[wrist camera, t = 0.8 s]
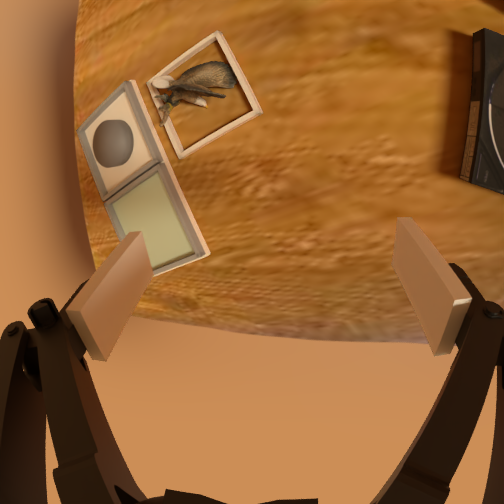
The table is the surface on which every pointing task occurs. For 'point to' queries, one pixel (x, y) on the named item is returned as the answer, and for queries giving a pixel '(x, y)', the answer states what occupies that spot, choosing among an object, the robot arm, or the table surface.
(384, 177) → the table surface
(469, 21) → the table surface
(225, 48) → the white square frame
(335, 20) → the table surface
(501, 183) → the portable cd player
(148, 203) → the tray
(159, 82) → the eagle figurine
